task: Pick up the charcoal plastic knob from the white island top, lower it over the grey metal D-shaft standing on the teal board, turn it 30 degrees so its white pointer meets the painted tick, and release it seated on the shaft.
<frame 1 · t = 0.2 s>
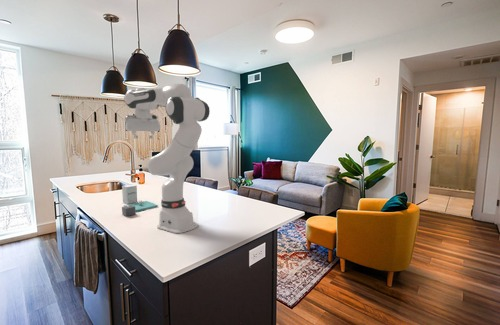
hand: (143, 138, 145), 47 cm above the worktop, fingers open, 8 cm apart
supplement box: (130, 202, 172), on the worktop
knob: (129, 214, 145), on the worktop
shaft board: (140, 207, 161), on the worktop
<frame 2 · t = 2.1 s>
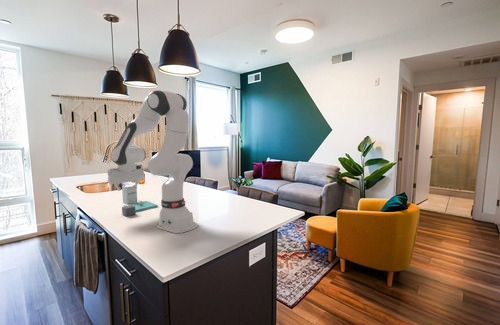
hand: (127, 189, 144), 16 cm above the worktop, fingers open, 8 cm apart
nothing on the worktop moved.
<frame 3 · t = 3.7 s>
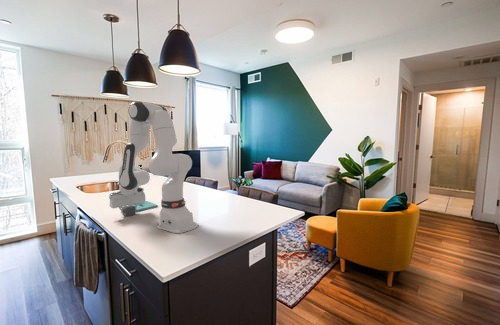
hand: (128, 211, 145), 2 cm above the worktop, fingers closed on knob, 6 cm apart
knob: (129, 214, 145), on the worktop, touching gripper
everything else where it was.
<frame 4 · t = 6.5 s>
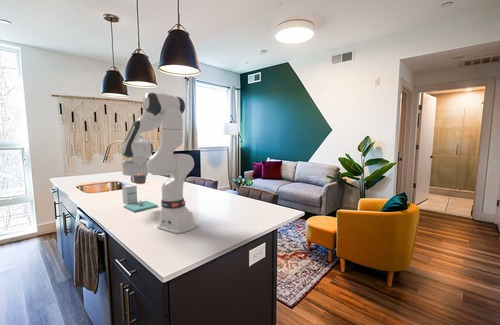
hand: (139, 180, 159), 19 cm above the worktop, fingers closed on knob, 6 cm apart
knob: (139, 182, 159), point 17 cm above the worktop, touching gripper
everything else where it was.
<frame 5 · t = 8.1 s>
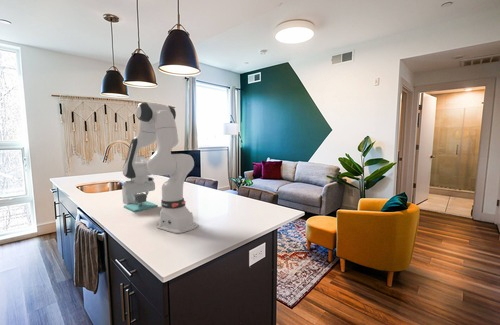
hand: (140, 199, 160), 6 cm above the worktop, fingers closed on knob, 6 cm apart
knob: (140, 201, 160), point 4 cm above the worktop, touching gripper
everything else where it was.
when the fingers open (4 cm above the worktop, at t = 9.3 s): knob stays where it is, resting on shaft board.
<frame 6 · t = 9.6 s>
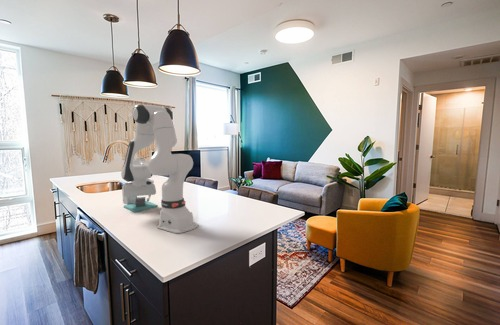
hand: (140, 201, 160), 4 cm above the worktop, fingers open, 8 cm apart
knob: (140, 205, 161), point 1 cm above the worktop, touching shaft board
everything else where it was.
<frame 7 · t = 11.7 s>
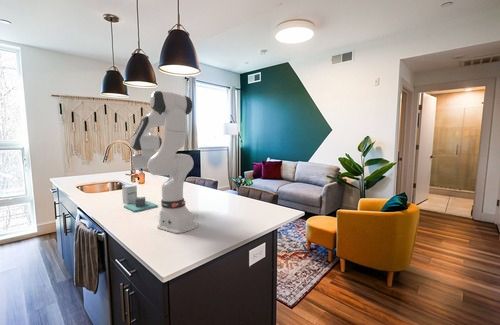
hand: (149, 173, 161), 23 cm above the worktop, fingers open, 8 cm apart
nothing on the worktop moved.
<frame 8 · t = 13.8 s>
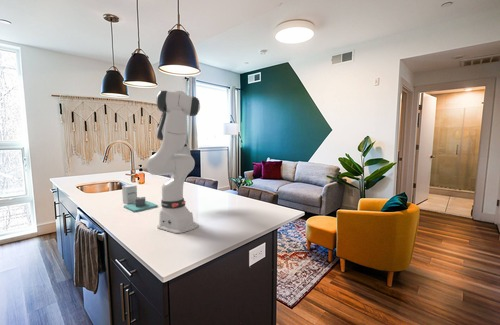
hand: (176, 163, 169), 29 cm above the worktop, fingers open, 8 cm apart
nothing on the worktop moved.
at the end: knob 0.0 cm off-centre on the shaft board, point 1.2 cm above the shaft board's base; knob tilted 0°; the gripper is holding nothing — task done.
